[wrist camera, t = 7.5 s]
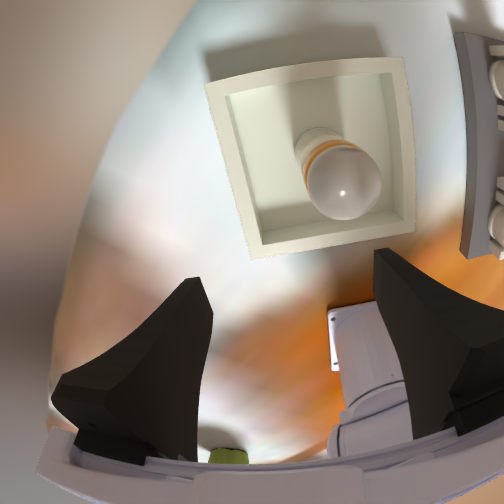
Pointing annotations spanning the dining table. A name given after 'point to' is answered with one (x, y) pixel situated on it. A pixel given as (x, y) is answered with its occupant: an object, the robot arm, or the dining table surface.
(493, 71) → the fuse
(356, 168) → the cylinder
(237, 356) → the dining table surface
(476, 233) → the fuse holder
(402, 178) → the tray
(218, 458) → the plant pot
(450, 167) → the dining table surface
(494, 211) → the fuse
